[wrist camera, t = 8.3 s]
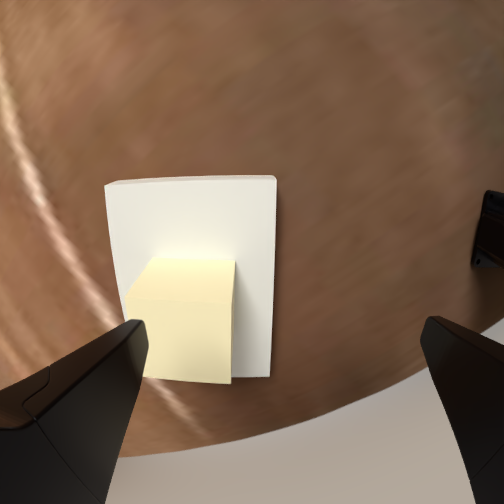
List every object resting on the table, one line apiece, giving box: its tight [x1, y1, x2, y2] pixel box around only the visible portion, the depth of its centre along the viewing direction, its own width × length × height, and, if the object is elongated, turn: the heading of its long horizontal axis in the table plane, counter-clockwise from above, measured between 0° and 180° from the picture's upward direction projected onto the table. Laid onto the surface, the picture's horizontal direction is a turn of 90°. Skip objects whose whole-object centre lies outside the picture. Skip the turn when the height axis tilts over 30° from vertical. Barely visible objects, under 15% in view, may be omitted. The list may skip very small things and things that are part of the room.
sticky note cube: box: [124, 258, 235, 384], centre depth 17 cm, size 5×5×5 cm
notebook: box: [105, 175, 277, 377], centre depth 20 cm, size 10×14×2 cm
